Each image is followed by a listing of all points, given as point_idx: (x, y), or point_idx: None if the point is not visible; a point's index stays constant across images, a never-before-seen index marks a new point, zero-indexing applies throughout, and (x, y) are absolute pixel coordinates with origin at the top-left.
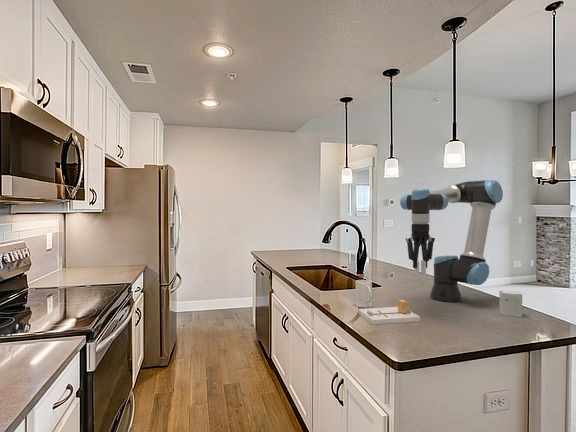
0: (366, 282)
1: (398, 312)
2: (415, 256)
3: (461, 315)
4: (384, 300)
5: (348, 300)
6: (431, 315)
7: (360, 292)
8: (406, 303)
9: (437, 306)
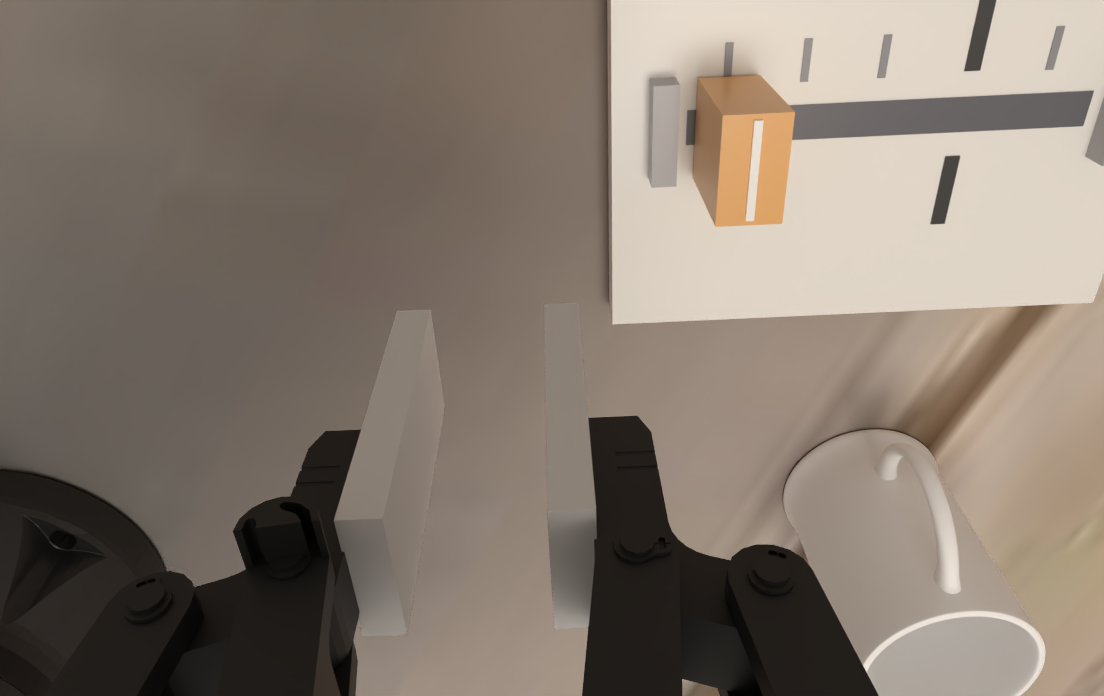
0: None
1: None
2: (678, 646)
3: (44, 75)
4: None
5: None
6: (379, 122)
7: (980, 544)
8: (731, 109)
9: (196, 380)
